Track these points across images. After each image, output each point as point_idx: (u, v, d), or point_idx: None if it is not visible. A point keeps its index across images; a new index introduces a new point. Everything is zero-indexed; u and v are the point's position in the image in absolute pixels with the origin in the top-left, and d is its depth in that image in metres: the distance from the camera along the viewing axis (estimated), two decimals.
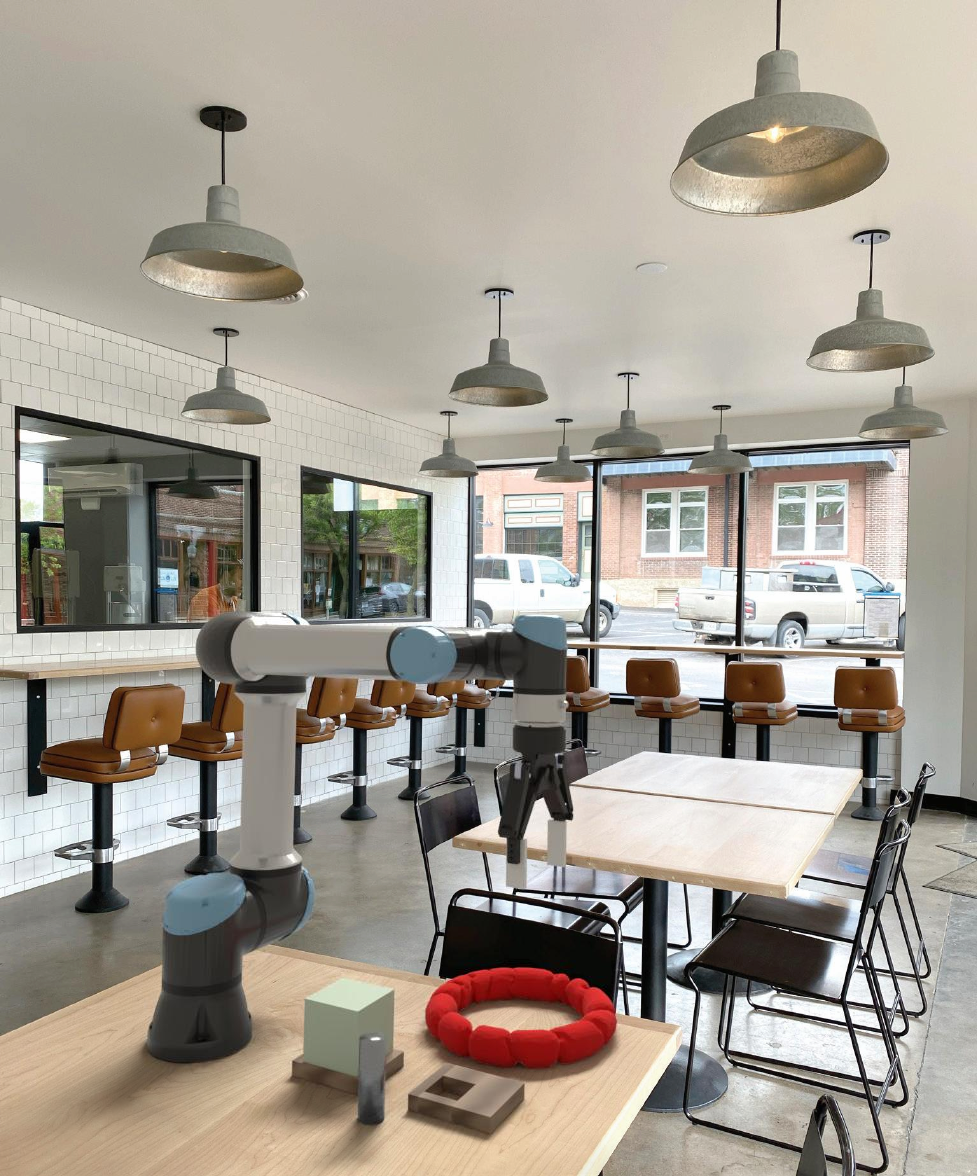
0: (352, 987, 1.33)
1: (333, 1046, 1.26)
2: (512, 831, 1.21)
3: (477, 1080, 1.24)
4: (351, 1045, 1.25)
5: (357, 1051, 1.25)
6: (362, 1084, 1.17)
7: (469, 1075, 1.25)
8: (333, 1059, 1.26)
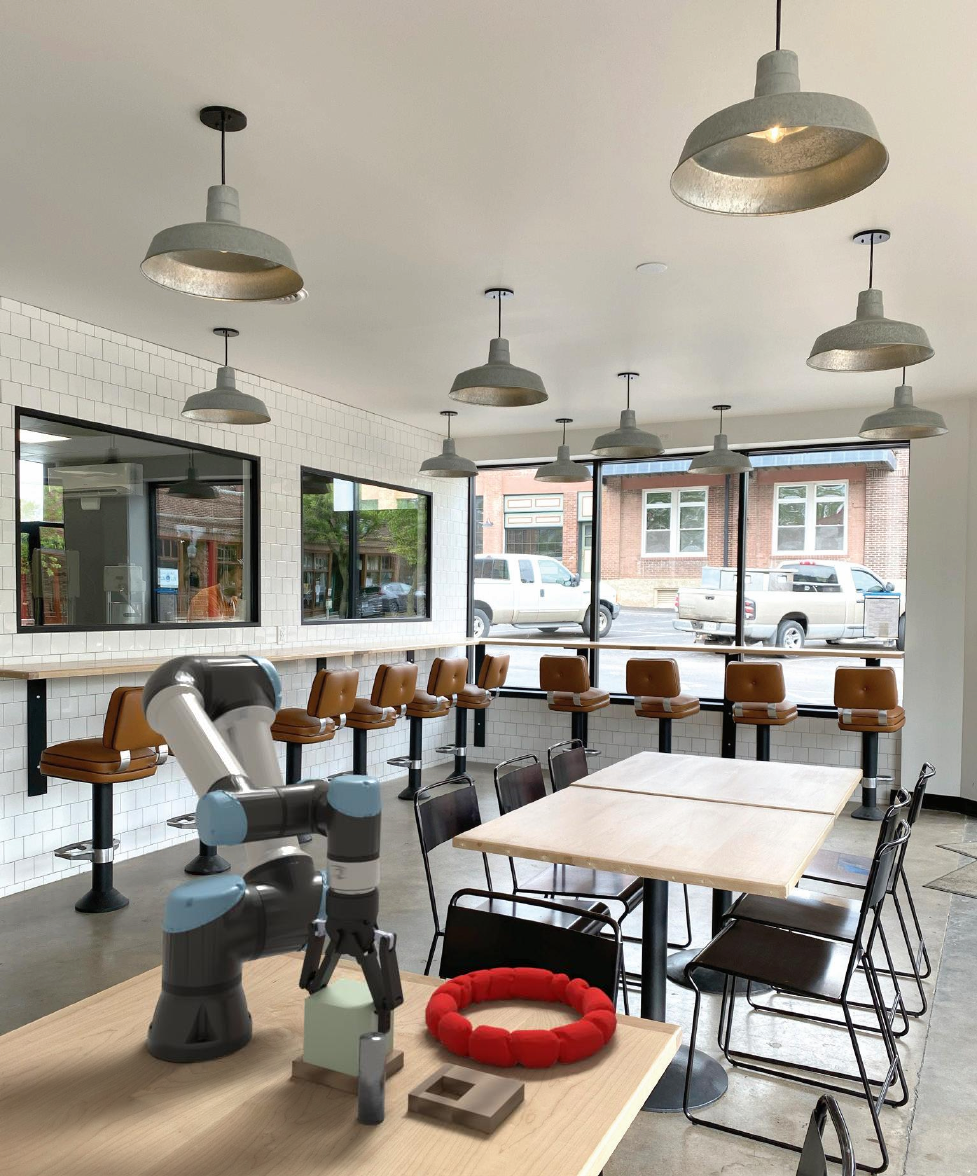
0: (352, 987, 1.33)
1: (333, 1046, 1.26)
2: None
3: (477, 1080, 1.24)
4: (351, 1045, 1.25)
5: (357, 1051, 1.25)
6: (362, 1084, 1.17)
7: (469, 1075, 1.25)
8: (333, 1059, 1.26)
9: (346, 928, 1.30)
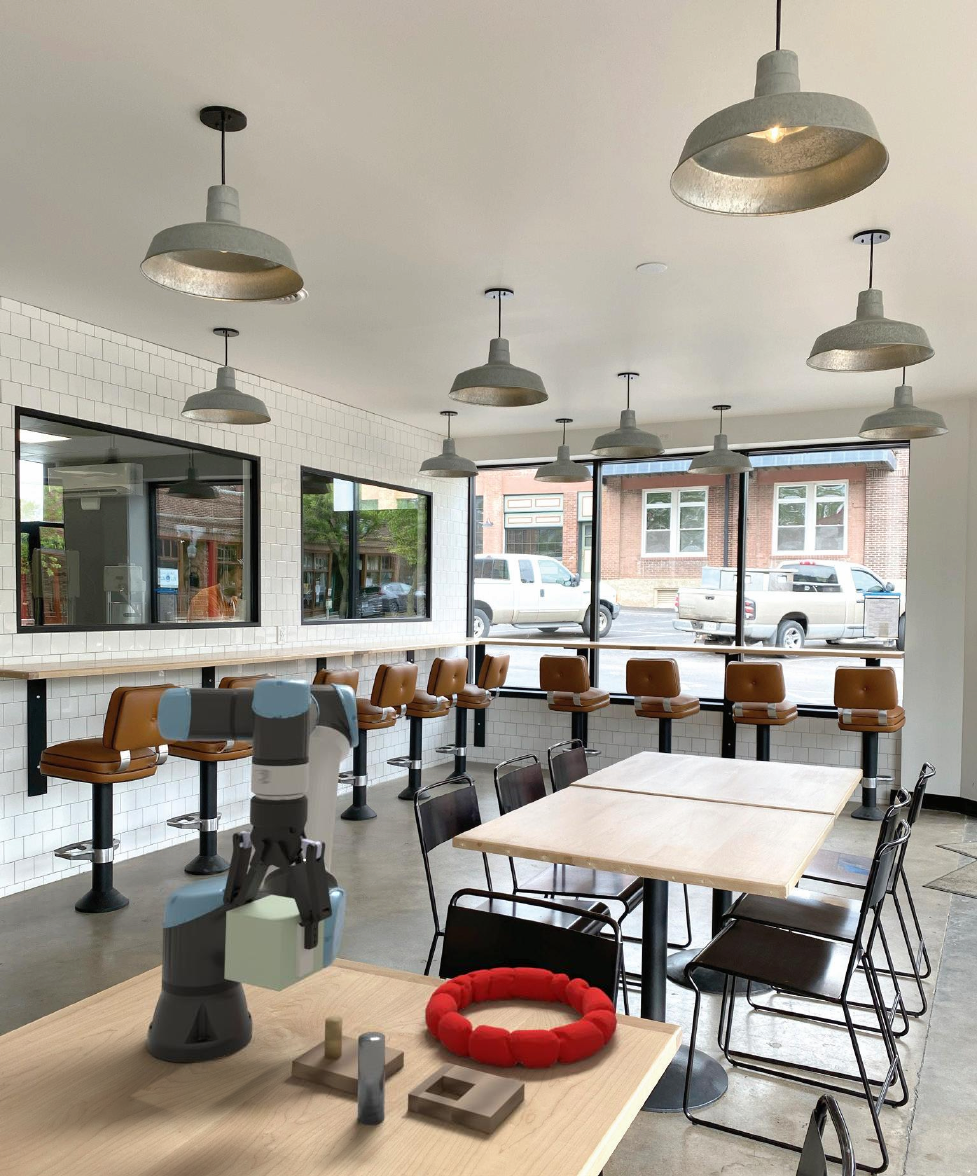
0: (279, 902, 1.25)
1: (255, 960, 1.18)
2: None
3: (477, 1080, 1.24)
4: (274, 958, 1.17)
5: (280, 964, 1.17)
6: (361, 1084, 1.17)
7: (469, 1075, 1.25)
8: (255, 974, 1.18)
9: (272, 837, 1.22)
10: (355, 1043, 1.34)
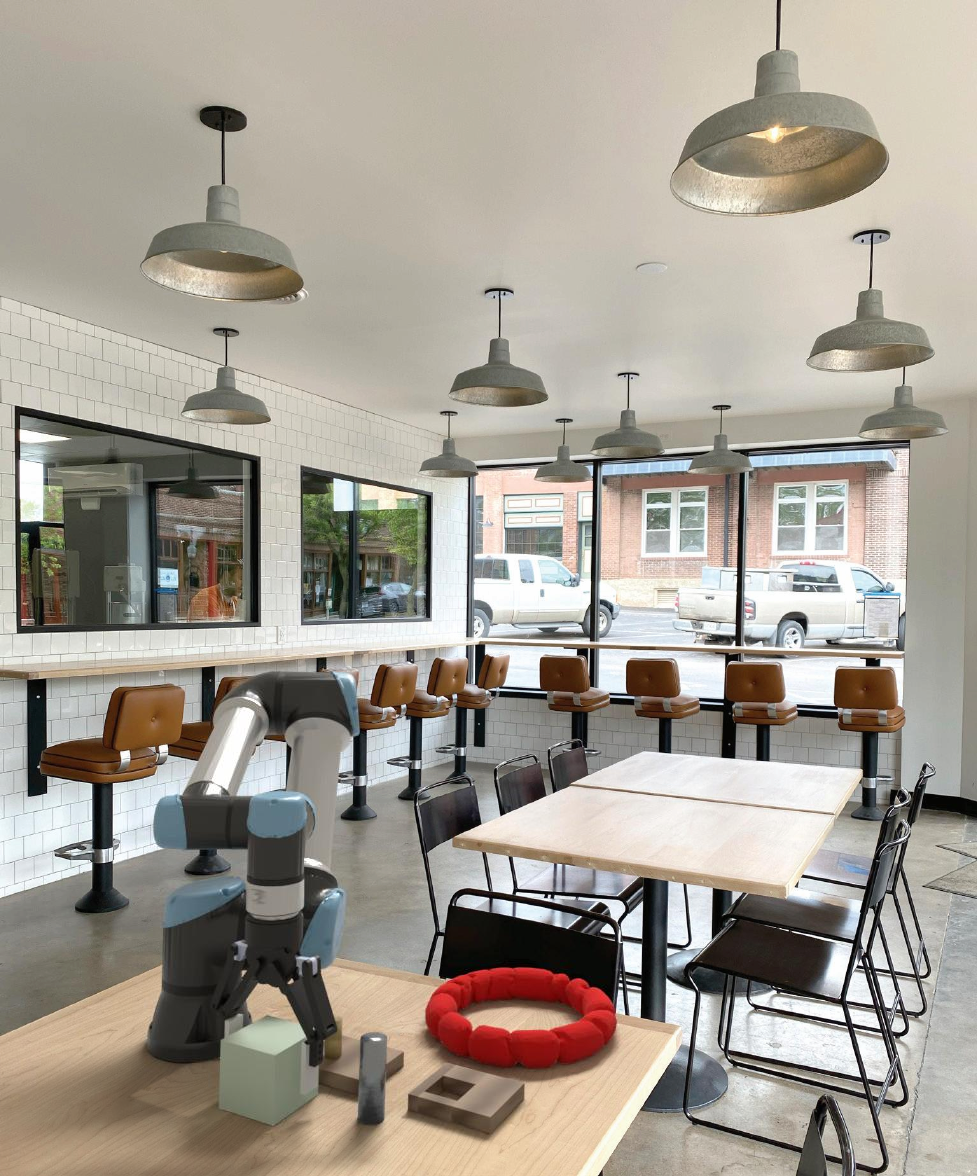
0: (274, 1026, 1.24)
1: (249, 1092, 1.17)
2: None
3: (477, 1080, 1.24)
4: (268, 1091, 1.16)
5: (274, 1098, 1.16)
6: (362, 1084, 1.17)
7: (469, 1075, 1.25)
8: (249, 1106, 1.17)
9: (267, 956, 1.21)
10: (355, 1043, 1.34)
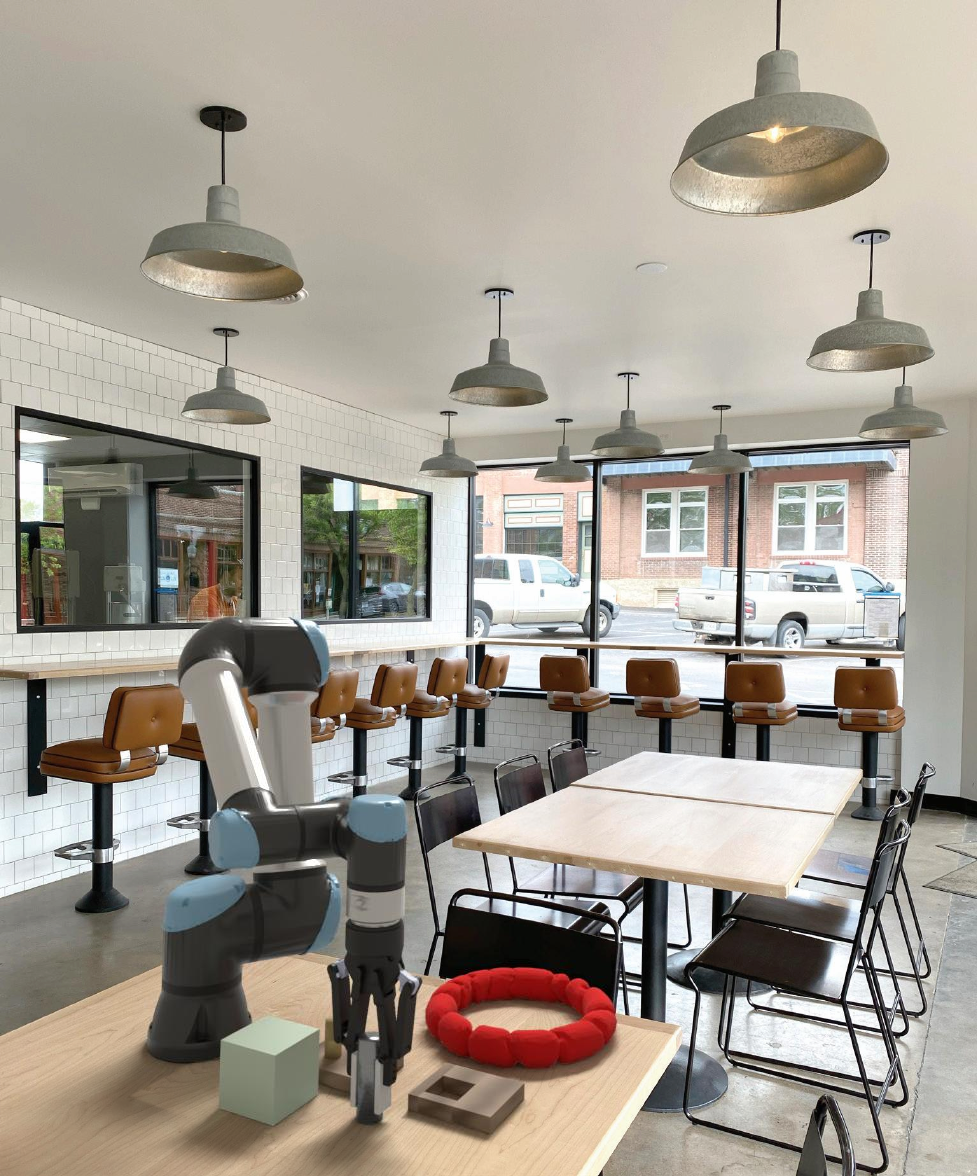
0: (274, 1026, 1.24)
1: (249, 1092, 1.17)
2: None
3: (477, 1080, 1.24)
4: (268, 1091, 1.16)
5: (274, 1098, 1.16)
6: (359, 1083, 1.17)
7: (469, 1075, 1.25)
8: (249, 1106, 1.17)
9: (368, 964, 1.18)
10: None
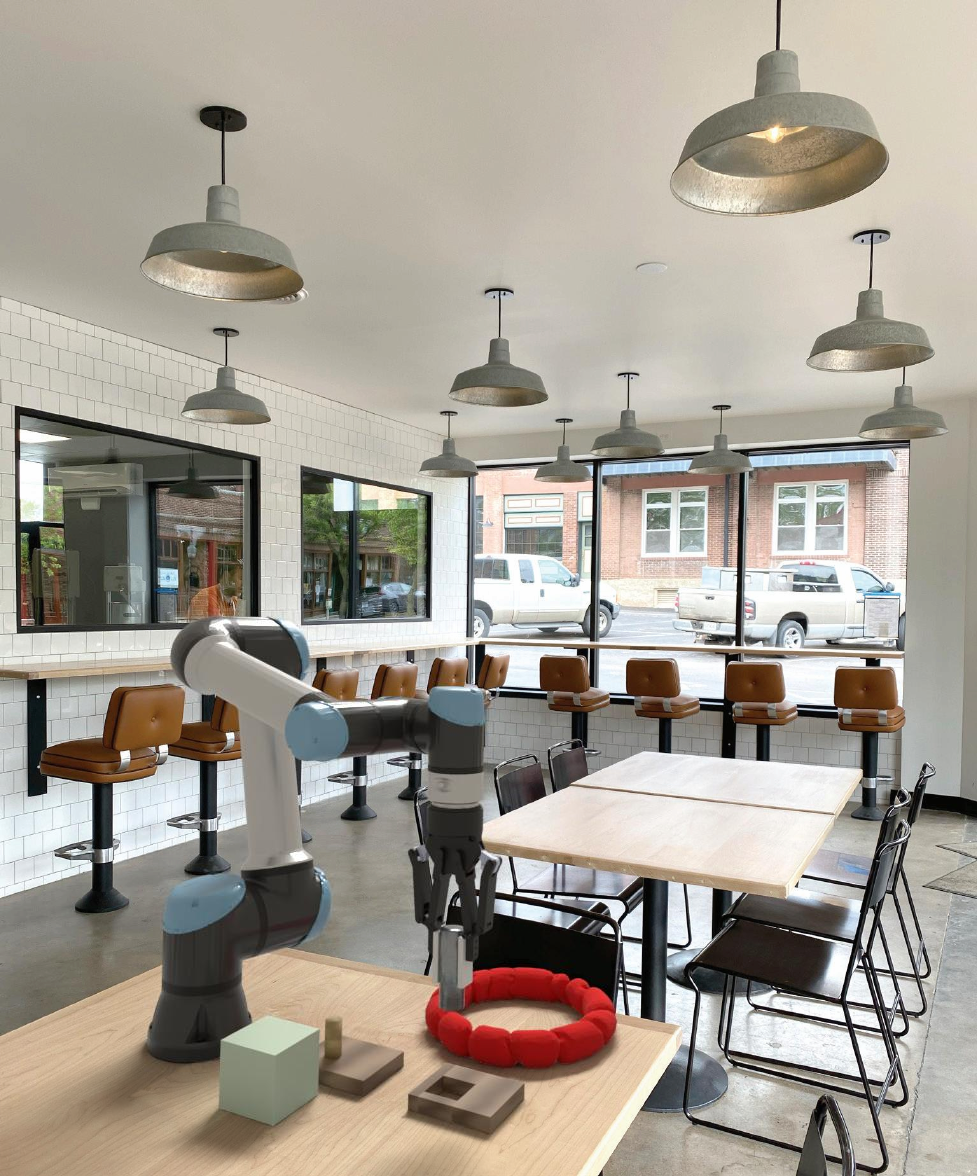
0: (274, 1026, 1.24)
1: (249, 1092, 1.17)
2: None
3: (477, 1080, 1.24)
4: (268, 1091, 1.16)
5: (274, 1098, 1.16)
6: (442, 972, 1.21)
7: (469, 1075, 1.25)
8: (249, 1106, 1.17)
9: (449, 846, 1.22)
10: (355, 1043, 1.34)
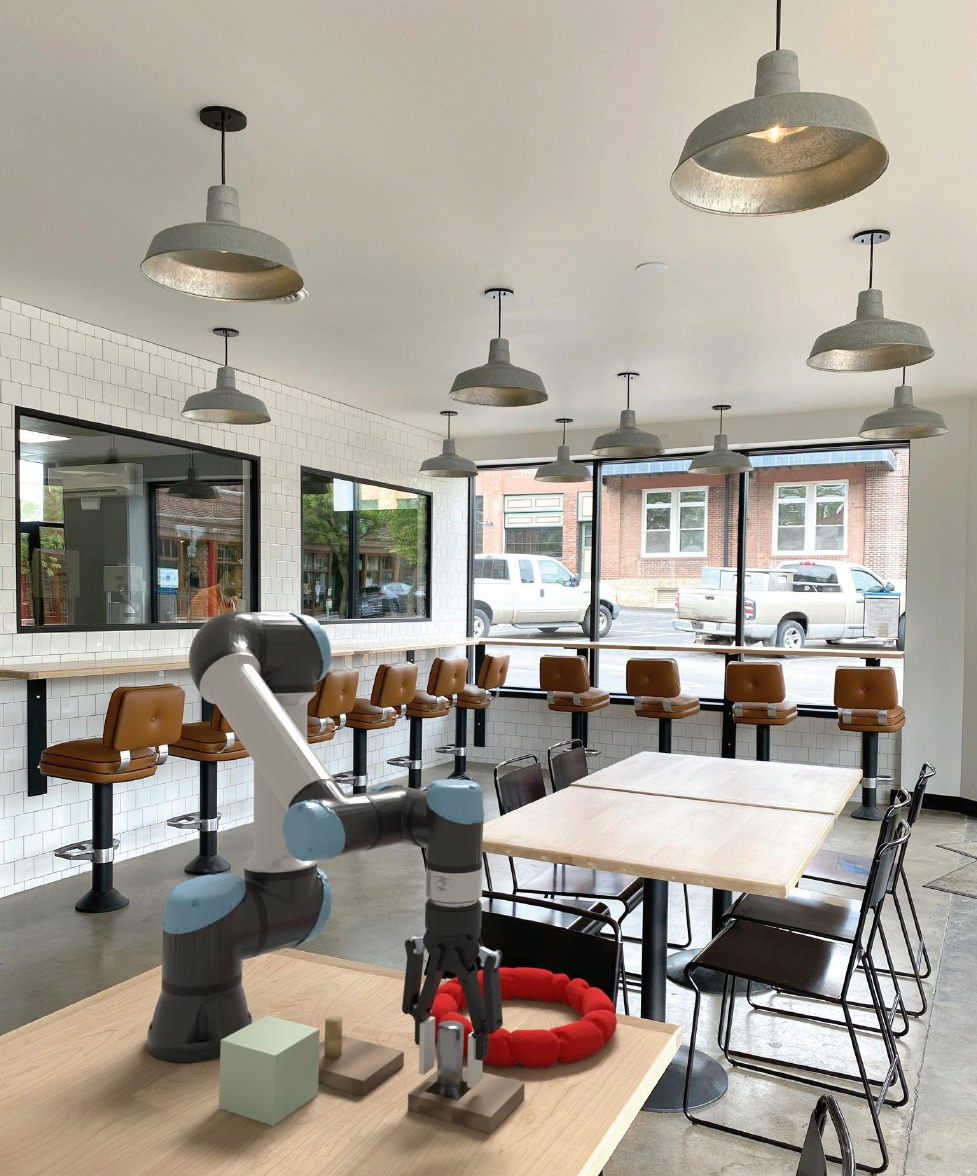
0: (274, 1026, 1.24)
1: (249, 1092, 1.17)
2: None
3: None
4: (268, 1091, 1.16)
5: (274, 1098, 1.16)
6: (440, 1071, 1.21)
7: None
8: (249, 1106, 1.17)
9: (447, 943, 1.22)
10: (355, 1043, 1.34)
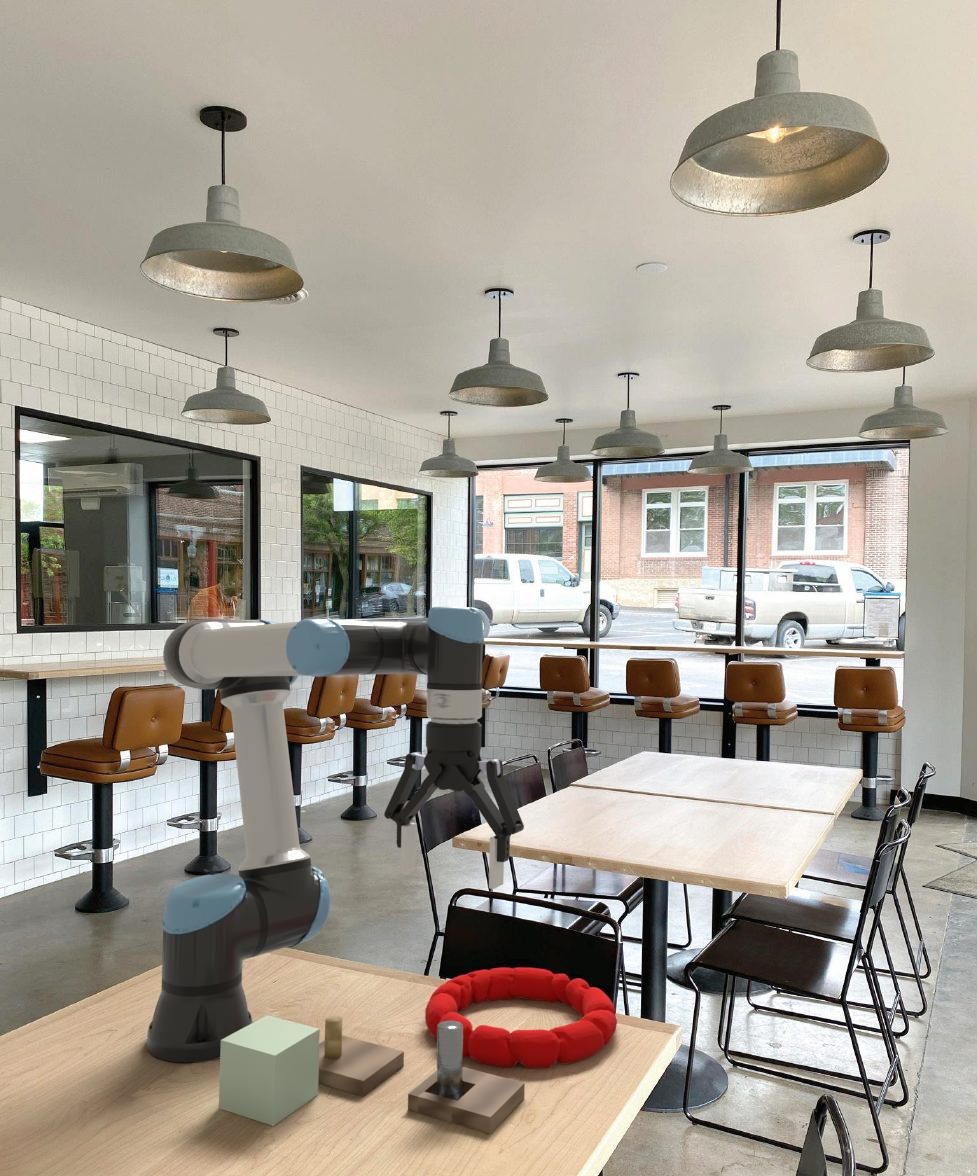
0: (274, 1026, 1.24)
1: (249, 1092, 1.17)
2: None
3: (477, 1080, 1.24)
4: (268, 1091, 1.16)
5: (274, 1098, 1.16)
6: (440, 1071, 1.21)
7: (469, 1075, 1.25)
8: (249, 1106, 1.17)
9: (448, 762, 1.24)
10: (355, 1043, 1.34)
